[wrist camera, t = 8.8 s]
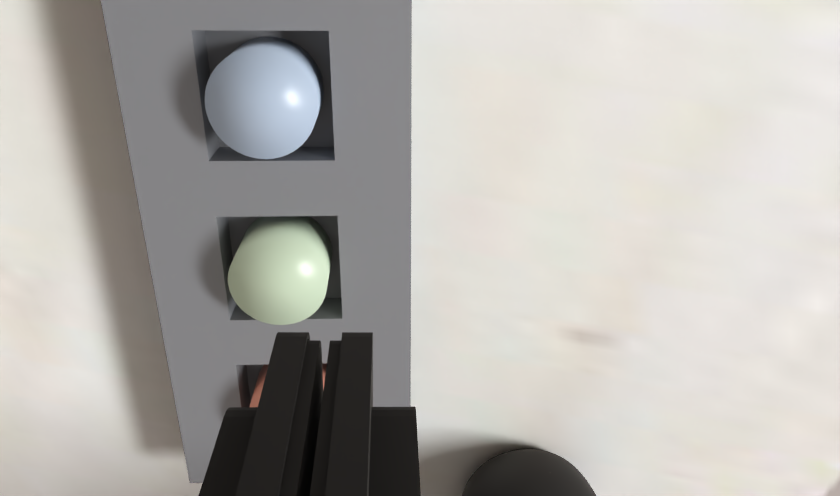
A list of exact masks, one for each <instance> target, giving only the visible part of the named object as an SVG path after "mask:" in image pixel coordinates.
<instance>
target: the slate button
mask: <svg viewBox="0 0 840 496" xmlns="http://www.w3.org/2000/svg"><path fill="white" fill-rule="evenodd" d="M323 96H324V86H323V80H322V76H321V73H320V71H319V68H318V66H317V65H316V63H315V61H314V60H313V59H312V57H311V56H310V55H309V54H308V53H307V52H306V51H305V50H304V49H303V48H301V47H300V46H298V45H297V44H295V43H293V42H291V41H289V40H286V39H283V38H279V37H271V36H267V37H259V38H255V39H252V40H249V41H247V42H245V43H244V44H242V45H241V46H239V47H238V48H237V49H236V50H235V51H233V52H232V53H231V54H230V55H229V56H227V57H226V58H225V59H224V60H223V61H221V62H220V63H219V64H218V65H217V66H216V68H215V69H214V70H213V72H212V74H211V75H210V77H209V80H208V82H207V85H206V90H205V109H206V114H207V117H208V120H209V122H210V124H211V126H212V128H213V129H214V131H215V133H216V134H217V135H218V136H219V138H220V139H221V140H222V141H223V142H224V143H225V144H226V145H228V146H229V147H230V148H232V149H233V150H235V151H237V152H238V153H241V154H243V155H245V156H249V157H252V158H257V159H274V158H279V157H283V156H285V155H288V154H290V153H292V152H294V151H295V150H296V149H298V148H299V147H300V146H301V145H302V144H303V143H304V142H305V141H306V140H307V139H308V137H309V136H310V134H311V132H312V130H313V128H314V125H315V122H316V119H317V117H318V114H319V111H320V108H321V105H322V102H323Z"/></svg>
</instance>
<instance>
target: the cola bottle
mask: <svg viewBox="0 0 840 496" xmlns="http://www.w3.org/2000/svg"><path fill="white" fill-rule="evenodd" d="M462 496H596V494H595V493H594V491H593V489H592V488H591V486H590V485H589V483H588V482H587V480H586V479H585V478H584V477H583V475H582V474H581V473H580V472H579V471H578V470H577V469H576V468H575V467H574V466H573V465H572V464H571V463H569V462H568V461H567V460H565V459H563V458H562V457H560V456H558V455H555V454H553V453H550V452H547V451H542V450H534V449H523V450H515V451H510V452H507V453H503V454H501V455H498V456H496V457H494V458H492V459H490V460H489V461H487V462H486V463H484V464H483V465H482V466H481V467H480V468H478V469H477V470H476V472H475V473H474V474H473V475H472V476H471V478H470V479H469V481H468V483H467V485H466V487H465V489H464V492H463V495H462Z"/></svg>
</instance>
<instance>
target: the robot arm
mask: <svg viewBox="0 0 840 496" xmlns="http://www.w3.org/2000/svg"><path fill="white" fill-rule="evenodd" d="M199 496H421V495H420V477H419V459H418V441H417V423H416V409H415V407H373V332H343V333H342V339H341V340H330V344H329V351H328V359H327V367H326V374H325V382H324V390H323V370H322V347H321V341H320V340H310V335H309V332H278V333H277V334H276V338H275V341H274V345H273V349H272V353H271V357H270V361H269V365H268V369H267V373H266V377H265V381H264V385H263V389H262V392H261V396H260V400H259V404H258V407H229V408H228V409H227V410H226V412H225V415H224V417H223V421H222V424H221V427H220V430H219V433H218V436H217V440H216V443H215V446H214V449H213V452H212V455H211V459H210V462H209V465H208V468H207V471H206V474H205V478H204V481H203V484H202V487H201V490H200V493H199Z"/></svg>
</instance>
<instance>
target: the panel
mask: <svg viewBox="0 0 840 496" xmlns="http://www.w3.org/2000/svg"><path fill="white" fill-rule="evenodd" d="M101 4H102V10H103V15H104V21H105V26H106V32H107V37H108V42H109V48H110V53H111V59H112V64H113V69H114V75H115V80H116V86H117V91H118V96H119V102H120V107H121V113H122V118H123V124H124V129H125V134H126V140H127V145H128V151H129V156H130V161H131V167H132V172H133V178H134V183H135V188H136V194H137V199H138V205H139V210H140V215H141V221H142V226H143V232H144V237H145V243H146V248H147V253H148V259H149V264H150V270H151V275H152V280H153V286H154V291H155V297H156V302H157V307H158V313H159V318H160V324H161V329H162V334H163V340H164V345H165V351H166V356H167V362H168V367H169V372H170V378H171V383H172V389H173V394H174V399H175V405H176V410H177V416H178V421H179V426H180V432H181V437H182V443H183V448H184V454H185V459H186V464H187V470H188V475H189V481H190V483H203V481H204V478H205V474H206V471H207V468H208V465H209V462H210V459H211V455H212V452H213V449H214V446H215V443H216V440H217V436H218V433H219V430H220V427H221V424H222V421H223V417H224V415H225V412H226V410H227V409H228V408H229V407H250V403H251V400H252V396H253V393H254V389H255V386H256V382H257V379H258V375H259V372H260V370H261V368H262V367H263V365H264V364H269V361H270V357H271V353H272V349H273V345H274V341H275V338H276V334H277V333H278V332H309V335H310V340H320V341H321V347H322V363H327V359H328V351H329V344H330V340H341V339H342V333H343V332H373V407H410V346H411V5H412V0H101ZM267 36H271V37H279V38H283V39H286V40H289V41H291V42H293V43H295V44H297V45H298V46H300V47H301V48H303V49H304V50H305V51H306V52H307V53H308V54H309V55H310V56H311V57H312V59H313V60H314V61H315V63H316V65H317V66H318V68H319V71H320V73H321V76H322V80H323V86H324V96H323V102H322V105H321V108H320V111H319V114H318V117H317V119H316V122H315V125H314V128H313V130H312V132H311V134H310V136H309V137H308V139H307V140H306V141H305V142H304V143H303V144H302V145H301V146H300V147H299V148H298V149H296V150H295V151H294V152H292V153H290V154H288V155H285V156H283V157H279V158H274V159H257V158H252V157H249V156H245V155H243V154H241V153H238V152H237V151H235V150H233V149H232V148H230V147H229V146H228V145H226V144H225V143H224V142H223V141H222V140H221V139H220V138H219V136H218V135H217V134H216V133H215V131H214V129H213V128H212V126H211V124H210V122H209V120H208V117H207V114H206V109H205V90H206V85H207V82H208V80H209V77H210V75H211V74H212V72H213V70H214V69H215V68H216V66H217V65H218V64H219V63H220V62H221V61H223V60H224V59H225V58H226V57H227V56H229V55H230V54H231V53H232V52H233V51H235V50H236V49H237V48H238V47H239V46H241V45H242V44H244V43H245V42H247V41H249V40H252V39H255V38H259V37H267ZM265 216H308V217H310V218H312V219H313V220H315V221H316V222H317V223H318V224H319V225H320V226H321V227H322V228H323V229H324V230H325V232H326V233H327V235H328V237H329V239H330V242H331V246H332V261H331V267H330V273H329V279H328V285H327V291H326V295H325V298H324V301H323V303H322V304H321V306H320V307H319V309H318V310H317V311H316V312H315V313H314V314H312V315H311V316H310V317H308V318H306V319H305V320H302V321H300V322H297V323H294V324H289V325H273V324H268V323H264V322H261V321H258V320H256V319H254V318H252V317H251V316H249V315H248V314H246V313H245V312H244V311H243V310H241V308H240V307H239V306H238V305H237V304H236V302H235V301H234V299H233V297H232V295H231V293H230V290H229V286H228V272H229V268H230V265H231V263H232V261H233V259H234V256H235V254H236V252H237V250H238V248H239V246H240V243H241V241H242V239H243V237H244V235H245V232H246V231H247V229H248V227H249V226H250V225H251V224H252V223H253V222H254V221H255V220H256V219H258V218H259V217H265Z"/></svg>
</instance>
